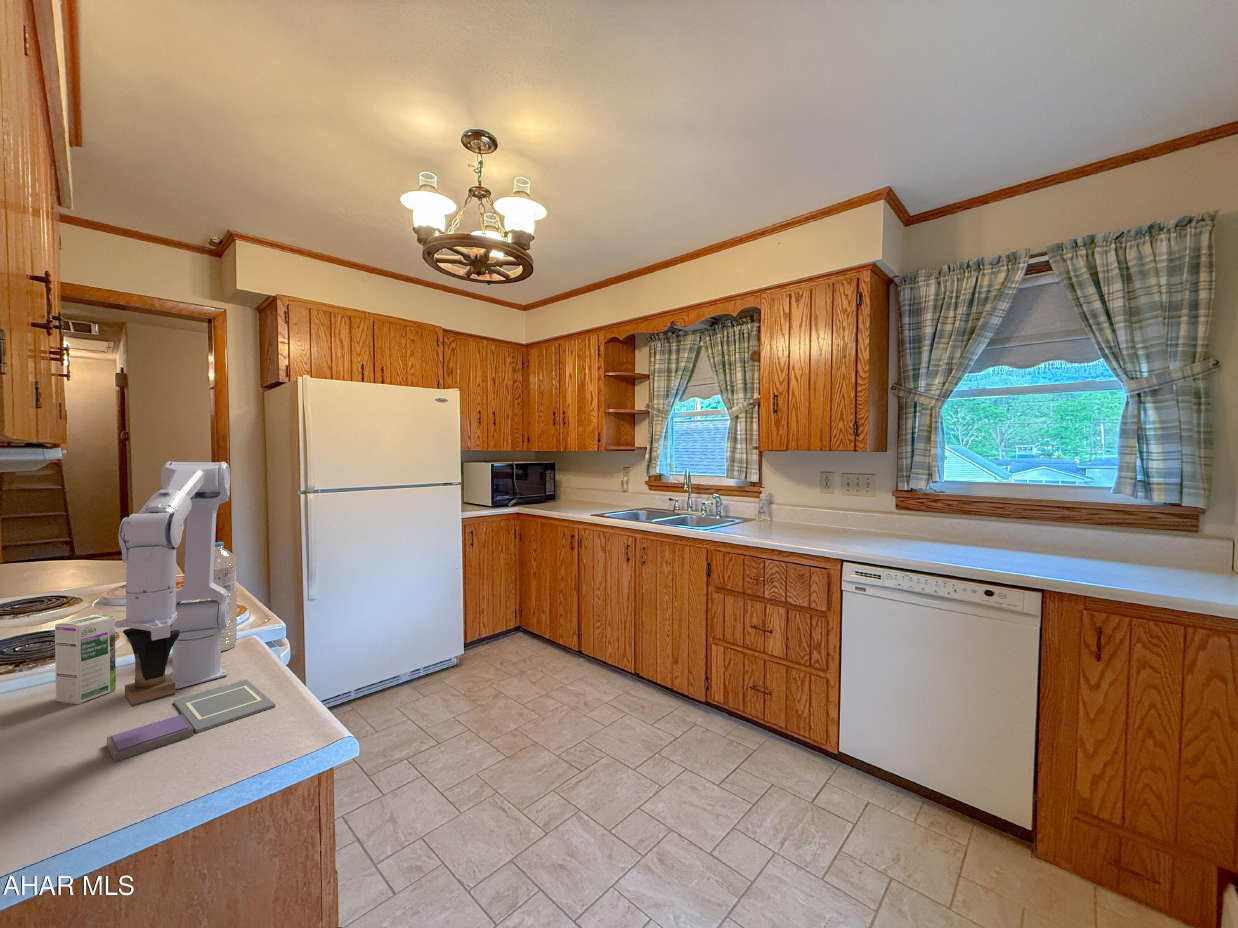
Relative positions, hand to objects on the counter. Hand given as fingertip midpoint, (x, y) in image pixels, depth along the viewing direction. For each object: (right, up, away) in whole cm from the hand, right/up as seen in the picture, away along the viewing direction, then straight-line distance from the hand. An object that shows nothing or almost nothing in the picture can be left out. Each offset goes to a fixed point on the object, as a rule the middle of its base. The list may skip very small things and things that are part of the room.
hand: (151, 674), depth 78 cm
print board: (+2, -10, +11) cm, 16 cm away
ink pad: (0, -10, 0) cm, 10 cm away
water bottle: (-20, -10, +38) cm, 44 cm away
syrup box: (-26, -10, +14) cm, 31 cm away
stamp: (0, -4, 0) cm, 4 cm away
